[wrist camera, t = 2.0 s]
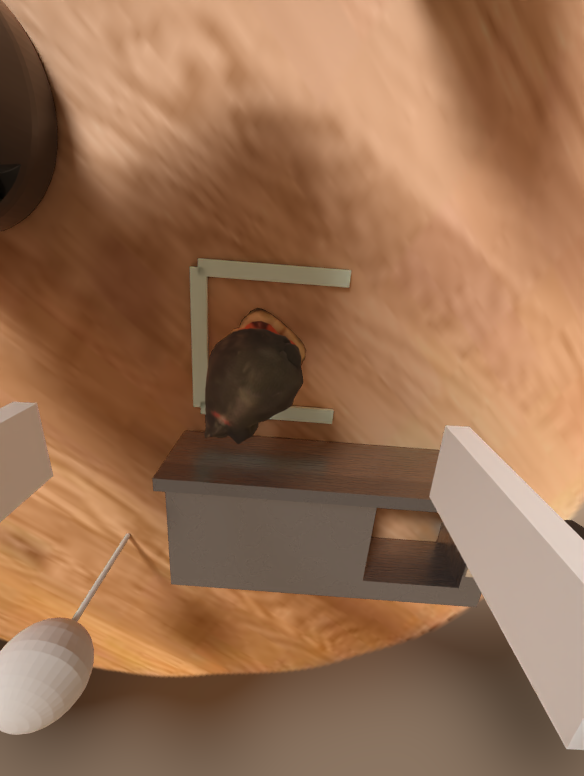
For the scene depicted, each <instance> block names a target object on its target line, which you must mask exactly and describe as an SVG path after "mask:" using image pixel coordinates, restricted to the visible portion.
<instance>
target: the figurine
mask: <svg viewBox="0 0 584 776" xmlns="http://www.w3.org/2000/svg"><path fill="white" fill-rule="evenodd" d="M305 354H306V350H305V347H304V345H303V343H302V342H301V340H300V339H299V338H298V337H297V336H296V335H295V334H294V333H293V332H292V331H291V330H290V329H288V328H287V327H286V326H285V325H284V324H283V323H282V322H280V321H279V320H278V319H277V318H276V317H274V316H273V315H272V314H270V313H269V312H267V311H265V310H263V309H259V308H257V309H255V310H252V311H250V313H249V314H248V316H246V317H244V319H243V320H242V321H241V324H240V327H239V328H237V329H233V330H232V332H231V334H229V335H228V336H227V337H225V338H224V339H222V340H221V341H220V342H219V343H217V344H216V346H215V347H214V349H213V351H212V353H211V355H210V357H209V362H208V370H207V376H206V387H205V405H206V408H205V411H206V414H205V423H206V430H205V433H204V436H205V438H209V437H217V438H220V439H221V438H225V437H227V436H230V437H231V438H232V439H233V440H234V441H235V442H236V443H237V444H240V443H242V442H243V441H245V440H247V439H248V438H250V437H252V436H253V434H254V432H255V431H256V429H257V428H258V423H259V422H262V421H265V420H268V419H270V418H271V417H273V416H274V415H276V414H278V413H280V412H282V411H285V410H286V409H288V408H289V407H291V406H292V404H293V400H294V398H295V396H296V394H297V392H298V390H299V389H300V387H301V386H302V384H303V376H302V370H301V365H302V362H303V360H304V359H305Z"/></svg>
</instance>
